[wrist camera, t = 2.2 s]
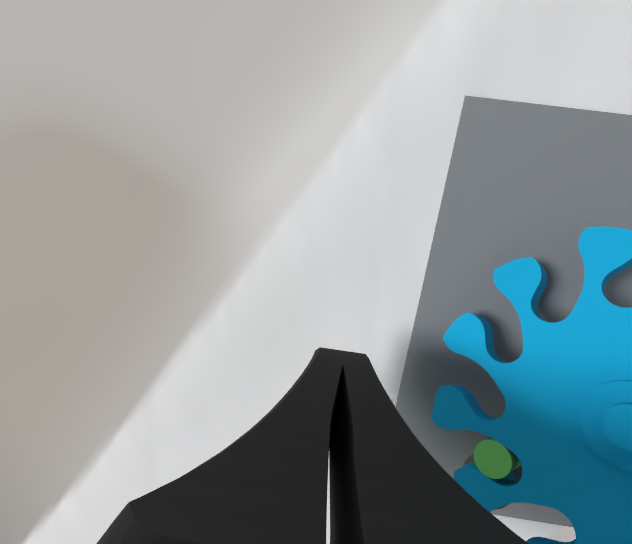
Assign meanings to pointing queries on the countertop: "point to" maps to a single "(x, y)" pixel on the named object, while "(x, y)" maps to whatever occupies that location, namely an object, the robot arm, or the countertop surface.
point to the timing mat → (511, 249)
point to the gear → (554, 399)
